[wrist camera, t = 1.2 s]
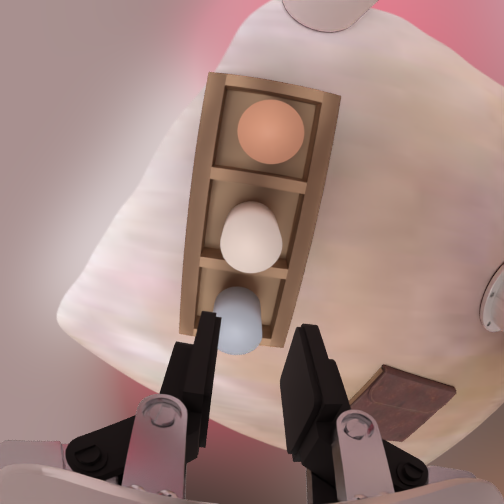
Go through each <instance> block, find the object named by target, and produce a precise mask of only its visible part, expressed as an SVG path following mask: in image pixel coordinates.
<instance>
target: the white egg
mask: <svg viewBox="0 0 504 504" xmlns="http://www.w3.org/2000/svg"><path fill="white" fill-rule="evenodd" d="M220 248H221V252H222V255H223V257H224V259H225V260H226V262H227V263H228V264H229V265H230V266H232V267H233V268H234V269H236V270H238V271H241V272H245V273H258V272H261V271H264V270H266V269H268V268H270V267H271V266H272V265H273V264H274V263H275V262H276V261H277V259H278V258H279V256H280V254H281V250H282V237H281V234H280V231H279V228H278V224H277V221H276V218H275V216H274V214H273V212H272V211H271V210H270V209H269V208H268V207H267V206H265V205H264V204H262V203H259V202H254V201H248V202H243V203H240V204H238V205H237V206H235V207H234V208H233V209H232V210H231V211H230V212H229V214H228V216H227V218H226V221H225V225H224V228H223V232H222V236H221V240H220Z"/></svg>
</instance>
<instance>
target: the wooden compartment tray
mask: <svg viewBox="0 0 504 504" xmlns="http://www.w3.org/2000/svg"><path fill="white" fill-rule="evenodd" d="M263 100H278V101H282V102H284V103H286V104H288V105H290V106H291V107H293V108H294V109H295V110H296V111H297V113H298V114H299V116H300V117H301V119H302V122H303V125H304V140H303V143H302V145H301V147H300V149H299V150H298V152H297V153H296V154H295V155H294V156H293V157H292V158H290V159H288V160H287V161H284V162H282V163H278V164H265V163H261V162H258V161H256V160H254V159H252V158H251V157H250V156H249V155H247V154H246V152H245V151H244V150H243V148H242V147H241V145H240V143H239V139H238V132H237V130H238V123H239V120H240V118H241V116H242V114H243V113H244V112H245V111H246V109H247V108H249V107H250V106H251V105H253V104H255V103H257V102H259V101H263ZM340 100H341V96H339V95H335V94H332V93H328V92H324V91H320V90H316V89H311V88H307V87H303V86H298V85H293V84H288V83H283V82H278V81H272V80H267V79H261V78H254V77H247V76H240V75H232V74H224V73H214V72H209V73H208V79H207V84H206V90H205V95H204V101H203V107H202V113H201V119H200V125H199V131H198V138H197V145H196V152H195V159H194V166H193V174H192V182H191V190H190V199H189V208H188V217H187V227H186V237H185V248H184V260H183V273H182V288H181V304H180V323H179V334H184V335H190V336H196V332H197V328H198V324H199V320H200V316H201V312H202V311H209V312H213V308H214V303H215V300H216V297H217V296H218V294H219V293H220V292H222V291H223V290H225V289H227V288H230V287H244V288H247V289H249V290H251V291H252V292H254V293H255V294H256V296H257V297H258V299H259V301H260V306H261V322H262V340H261V342H260V344H259V345H261V346H270V347H280V348H283V347H284V344H285V340H286V337H287V333H288V330H289V326H290V323H291V319H292V316H293V312H294V308H295V305H296V301H297V297H298V293H299V290H300V286H301V282H302V278H303V274H304V270H305V266H306V262H307V258H308V254H309V250H310V246H311V242H312V238H313V234H314V229H315V225H316V221H317V216H318V212H319V207H320V203H321V198H322V194H323V189H324V184H325V180H326V175H327V170H328V165H329V160H330V155H331V150H332V145H333V139H334V134H335V129H336V123H337V118H338V112H339V106H340ZM248 201H254V202H259V203H262V204H264V205H265V206H267V207H268V208H269V209H270V210H271V211H272V212H273V214H274V216H275V218H276V221H277V224H278V228H279V231H280V234H281V237H282V250H281V254H280V256H279V258H278V259H277V261H276V262H275V263H274V264H273V265H272V266H271V267H270V268H268V269H266V270H264V271H261V272H258V273H245V272H241V271H238V270H236V269H234V268H233V267H232V266H230V265H229V264H228V263H227V262H226V260H225V259H224V257H223V255H222V252H221V248H220V240H221V236H222V232H223V228H224V225H225V221H226V218H227V216H228V214H229V212H230V211H231V210H232V209H233V208H234V207H235V206H237V205H238V204H240V203H243V202H248Z"/></svg>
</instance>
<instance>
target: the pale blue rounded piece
mask: <svg viewBox="0 0 504 504" xmlns="http://www.w3.org/2000/svg"><path fill="white" fill-rule="evenodd" d="M213 312H215V313H217V314H216V317H222V320H221V327H220V334H219V342H218V349H219V350H220V351H222V352H224V353H227V354H231V355H242V354H246V353H249V352H251V351H253V350H254V349H255V348H257V346H258V345H259V344H260V342H261V340H262V322H261V306H260V301H259V299H258V297H257V296H256V294H255V293H254V292H252V291H251V290H249V289H247V288H244V287H230V288H227V289H225V290H223V291H222V292H220V293H219V294H218V296H217V297H216V300H215V303H214V308H213Z"/></svg>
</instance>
